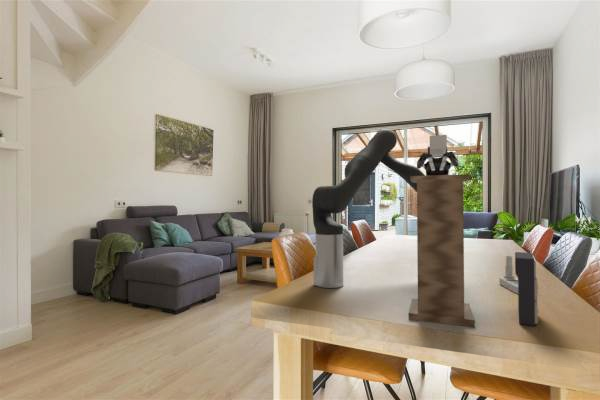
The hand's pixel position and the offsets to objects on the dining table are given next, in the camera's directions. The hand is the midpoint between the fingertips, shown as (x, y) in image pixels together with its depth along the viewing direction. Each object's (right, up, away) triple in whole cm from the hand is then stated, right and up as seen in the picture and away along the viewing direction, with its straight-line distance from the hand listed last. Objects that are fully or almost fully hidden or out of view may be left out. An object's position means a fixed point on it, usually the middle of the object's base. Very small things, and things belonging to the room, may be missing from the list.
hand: (437, 146), depth 109 cm
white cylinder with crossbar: (-1, -3, -4) cm, 5 cm away
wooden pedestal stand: (-9, -45, -24) cm, 52 cm away
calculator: (+10, -45, -28) cm, 54 cm away
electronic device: (+25, -46, -1) cm, 52 cm away
